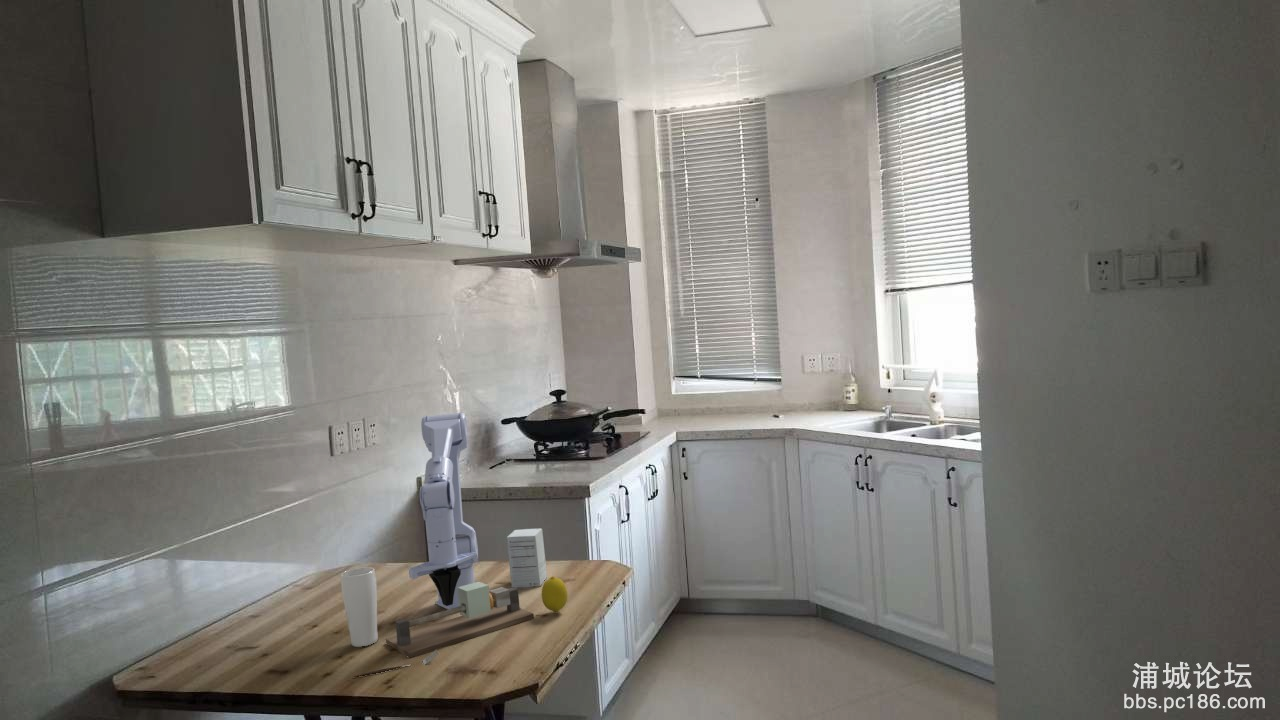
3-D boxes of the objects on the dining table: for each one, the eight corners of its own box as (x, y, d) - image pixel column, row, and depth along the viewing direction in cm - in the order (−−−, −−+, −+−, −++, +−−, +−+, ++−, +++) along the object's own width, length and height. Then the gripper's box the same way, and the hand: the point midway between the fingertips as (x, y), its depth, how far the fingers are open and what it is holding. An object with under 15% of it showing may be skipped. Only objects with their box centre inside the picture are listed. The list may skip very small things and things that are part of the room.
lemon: (564, 617, 181) (561, 580, 181) (540, 617, 182) (536, 580, 182) (572, 608, 187) (568, 572, 186) (547, 608, 188) (544, 573, 188)
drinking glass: (372, 634, 181) (365, 565, 180) (387, 641, 176) (380, 569, 175) (341, 645, 176) (334, 573, 176) (356, 652, 171) (349, 578, 171)
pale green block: (460, 614, 181) (457, 587, 181) (481, 608, 184) (478, 581, 184) (469, 618, 177) (466, 591, 177) (490, 612, 180) (488, 585, 180)
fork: (350, 678, 159) (349, 667, 158) (437, 659, 164) (436, 648, 164) (351, 683, 156) (350, 672, 156) (439, 663, 162) (438, 653, 162)
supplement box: (519, 579, 213) (514, 529, 213) (547, 577, 212) (543, 527, 212) (510, 588, 206) (505, 536, 206) (540, 587, 205) (535, 535, 205)
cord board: (386, 643, 175) (383, 613, 174) (506, 606, 192) (504, 579, 192) (409, 658, 165) (406, 626, 165) (533, 618, 182) (531, 589, 182)
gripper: (416, 550, 169) (422, 618, 169) (481, 534, 178) (488, 598, 178) (402, 545, 174) (408, 610, 175) (466, 530, 183) (472, 592, 184)
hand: (447, 604), depth 177 cm, fingers closed
